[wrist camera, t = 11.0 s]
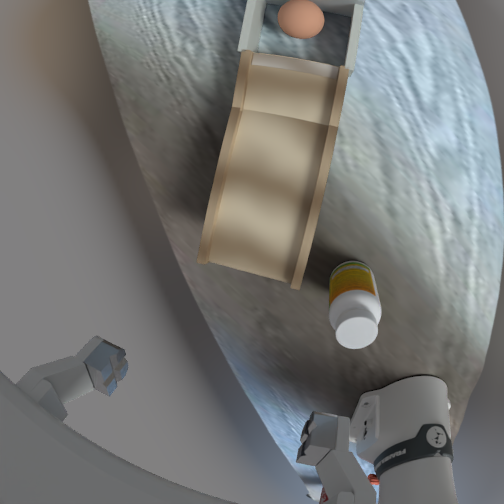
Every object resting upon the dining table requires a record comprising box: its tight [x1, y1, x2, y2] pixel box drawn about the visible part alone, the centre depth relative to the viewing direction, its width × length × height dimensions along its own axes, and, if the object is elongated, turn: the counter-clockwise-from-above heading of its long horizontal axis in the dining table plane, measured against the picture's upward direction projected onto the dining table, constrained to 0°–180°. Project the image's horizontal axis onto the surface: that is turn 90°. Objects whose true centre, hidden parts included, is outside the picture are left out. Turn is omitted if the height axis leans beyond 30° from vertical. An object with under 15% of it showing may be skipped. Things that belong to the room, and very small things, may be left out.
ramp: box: [197, 49, 349, 290], centre depth 25 cm, size 20×10×8 cm, turn 171°
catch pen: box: [238, 0, 365, 77], centre depth 20 cm, size 8×10×5 cm
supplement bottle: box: [329, 261, 381, 349], centre depth 29 cm, size 5×5×10 cm
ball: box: [278, 0, 324, 39], centre depth 20 cm, size 4×4×4 cm
